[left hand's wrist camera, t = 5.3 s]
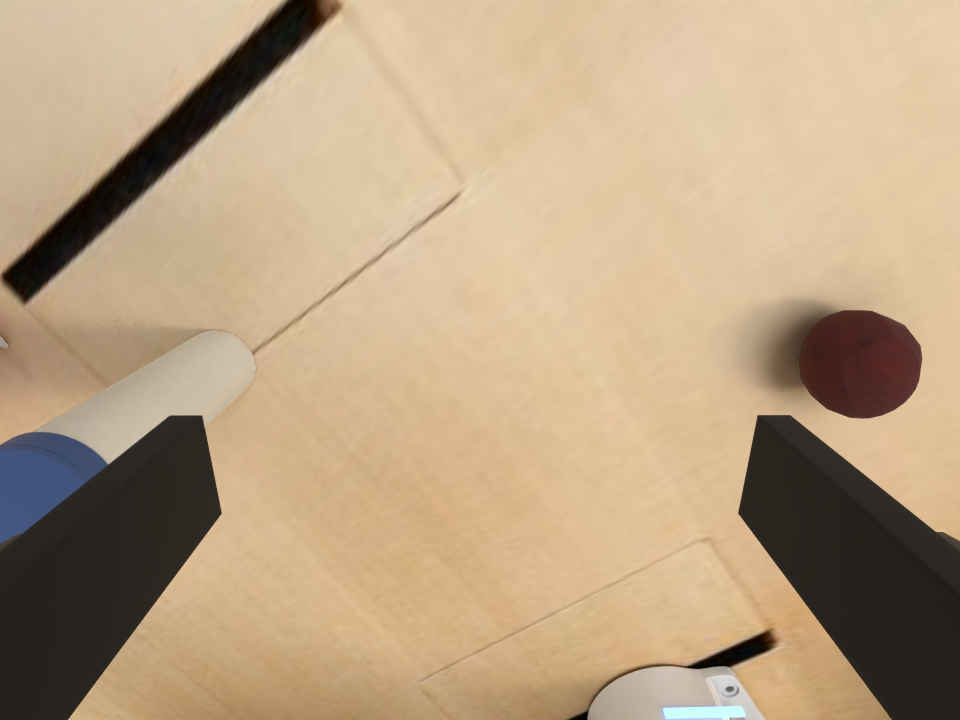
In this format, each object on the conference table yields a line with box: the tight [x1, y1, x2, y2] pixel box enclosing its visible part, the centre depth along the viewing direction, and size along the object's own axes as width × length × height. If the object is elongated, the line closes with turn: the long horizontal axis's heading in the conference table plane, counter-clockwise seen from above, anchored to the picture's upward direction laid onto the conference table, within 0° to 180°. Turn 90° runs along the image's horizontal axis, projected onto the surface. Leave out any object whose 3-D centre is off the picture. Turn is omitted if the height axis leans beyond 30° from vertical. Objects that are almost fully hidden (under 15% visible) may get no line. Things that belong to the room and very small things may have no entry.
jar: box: [33, 330, 256, 464], centre depth 33 cm, size 6×6×18 cm
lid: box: [0, 432, 108, 543], centre depth 25 cm, size 6×6×2 cm
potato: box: [799, 310, 922, 418], centre depth 38 cm, size 7×8×7 cm
